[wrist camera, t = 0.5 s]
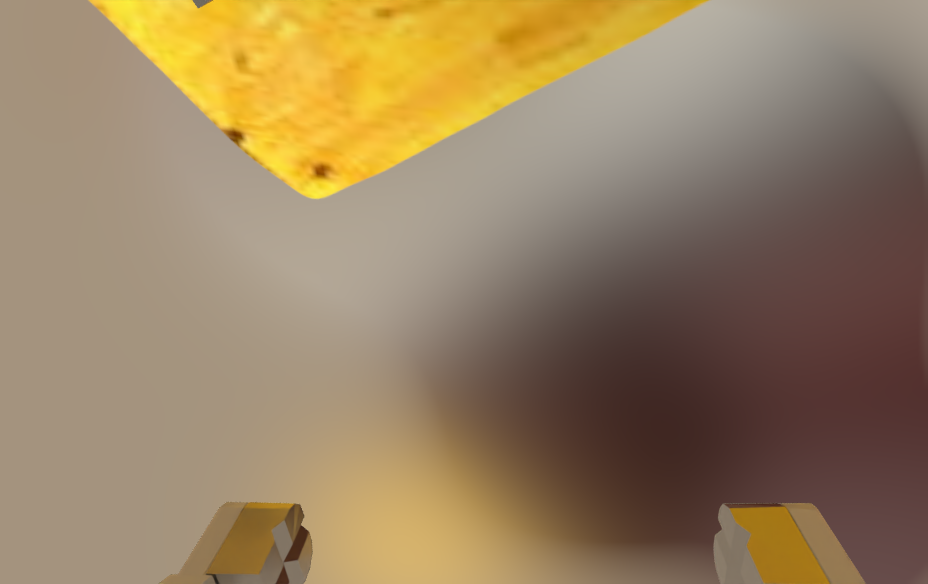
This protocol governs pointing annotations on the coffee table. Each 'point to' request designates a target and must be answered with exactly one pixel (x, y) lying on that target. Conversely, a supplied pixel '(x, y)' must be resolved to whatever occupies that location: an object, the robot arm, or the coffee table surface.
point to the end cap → (201, 2)
